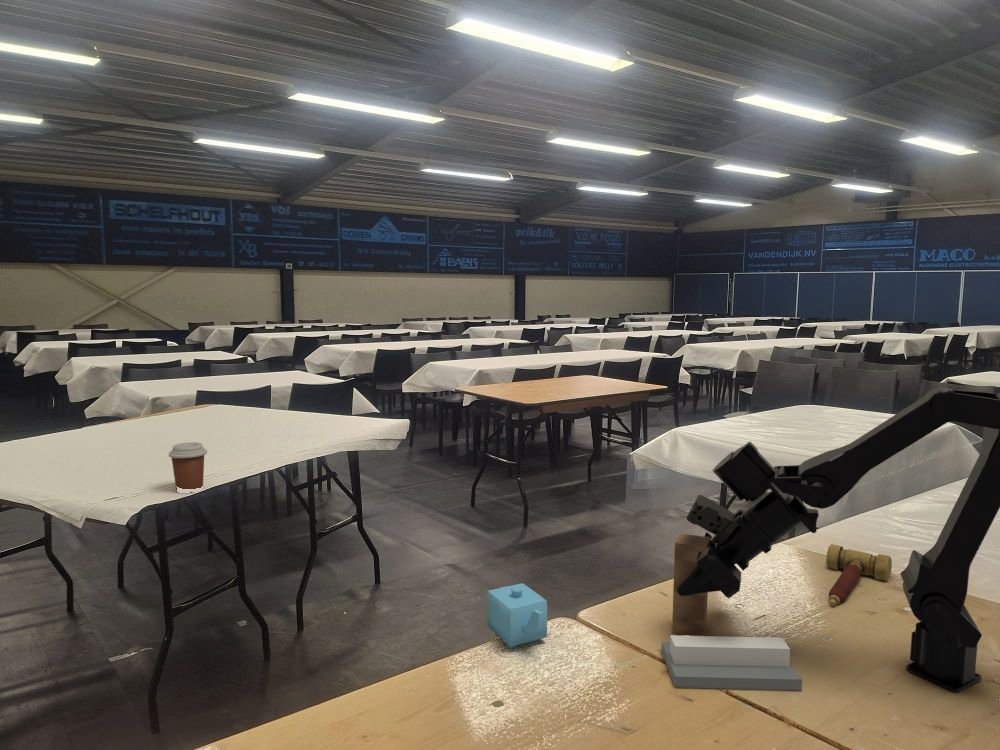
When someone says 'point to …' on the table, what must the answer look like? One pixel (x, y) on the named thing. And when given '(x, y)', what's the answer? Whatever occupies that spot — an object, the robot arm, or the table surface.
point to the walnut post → (690, 607)
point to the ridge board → (731, 676)
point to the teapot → (517, 614)
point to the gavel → (854, 569)
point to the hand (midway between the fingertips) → (681, 586)
